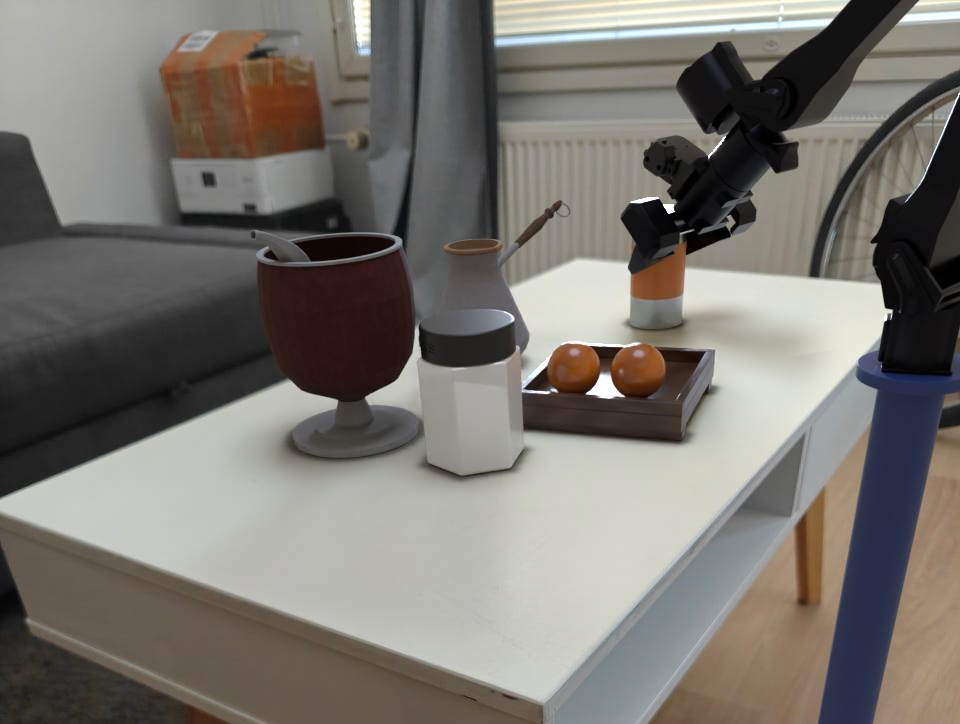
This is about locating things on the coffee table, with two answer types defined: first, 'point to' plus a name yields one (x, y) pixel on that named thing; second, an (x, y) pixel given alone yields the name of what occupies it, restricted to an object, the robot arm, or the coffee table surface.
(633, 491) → the coffee table surface
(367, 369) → the mate gourd
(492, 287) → the coffee pot
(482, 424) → the jar
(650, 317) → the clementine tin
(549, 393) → the fruit tray
